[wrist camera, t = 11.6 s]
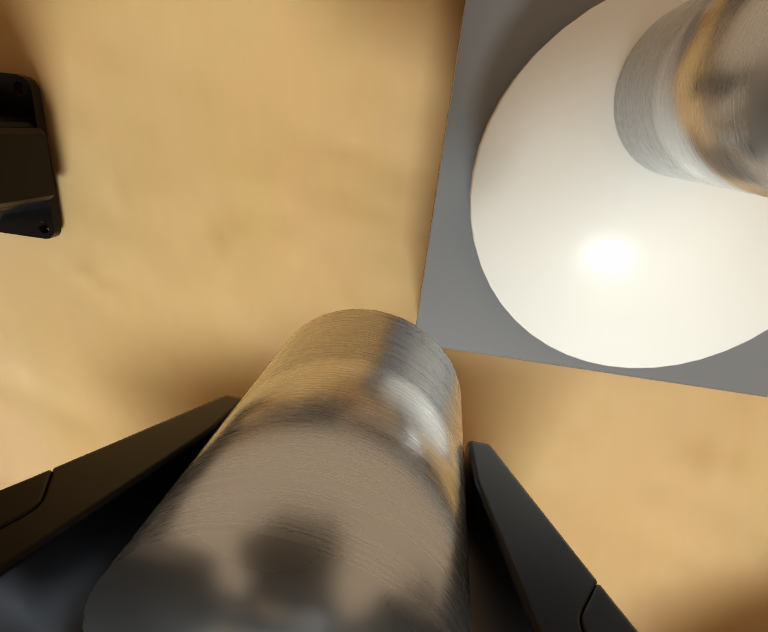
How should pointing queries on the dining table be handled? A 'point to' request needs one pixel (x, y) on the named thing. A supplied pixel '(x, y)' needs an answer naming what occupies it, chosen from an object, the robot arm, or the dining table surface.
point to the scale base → (452, 210)
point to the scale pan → (609, 216)
